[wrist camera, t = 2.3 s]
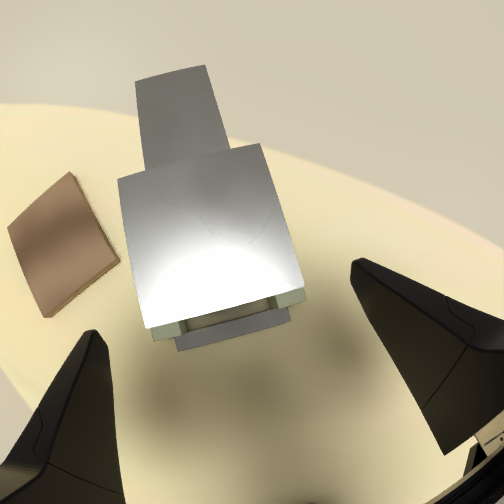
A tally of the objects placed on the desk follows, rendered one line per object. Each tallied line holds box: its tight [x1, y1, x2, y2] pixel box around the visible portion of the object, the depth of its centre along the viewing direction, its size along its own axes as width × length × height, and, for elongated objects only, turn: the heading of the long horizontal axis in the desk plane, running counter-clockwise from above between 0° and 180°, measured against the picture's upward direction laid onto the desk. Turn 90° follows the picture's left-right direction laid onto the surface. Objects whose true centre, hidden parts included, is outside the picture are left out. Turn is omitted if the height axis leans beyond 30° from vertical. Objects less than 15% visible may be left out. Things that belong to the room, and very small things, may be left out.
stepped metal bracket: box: [117, 65, 305, 329], centre depth 13 cm, size 6×3×13 cm, turn 15°
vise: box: [150, 287, 307, 352], centre depth 17 cm, size 6×9×3 cm
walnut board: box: [7, 172, 120, 318], centre depth 18 cm, size 8×7×1 cm
